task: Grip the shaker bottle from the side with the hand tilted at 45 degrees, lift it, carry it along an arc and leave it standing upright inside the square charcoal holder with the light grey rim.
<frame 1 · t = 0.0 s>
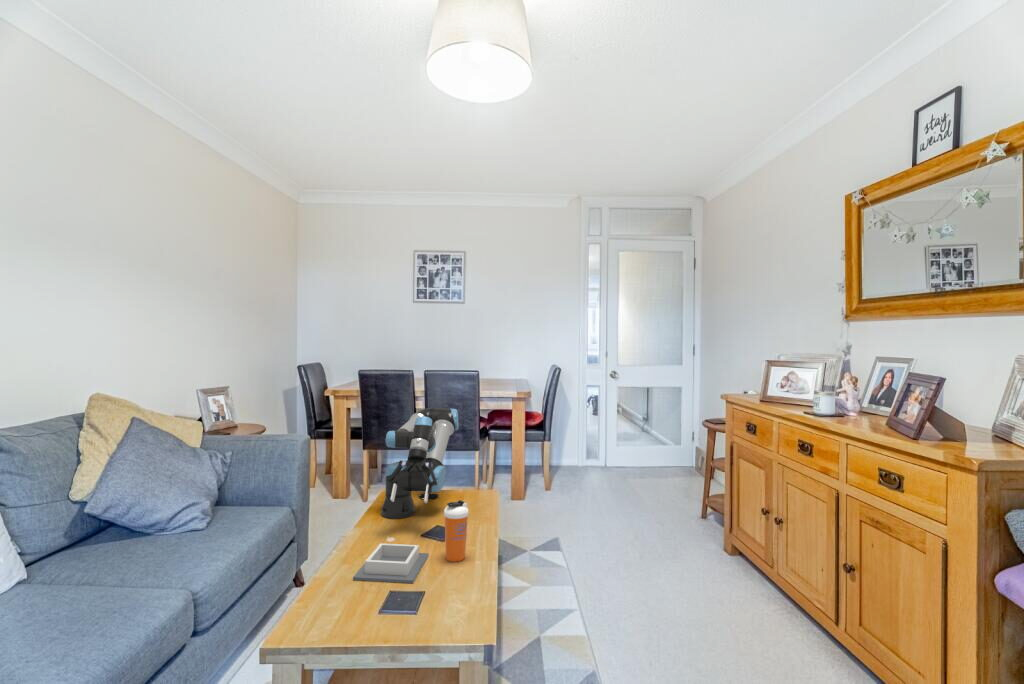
hand: (408, 501, 183), 15 cm above the table, tool tilted 35°, fingers open, 13 cm apart
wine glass: (428, 497, 237), on the table
holder: (392, 567, 160), on the table
shaker bottle: (455, 558, 169), on the table
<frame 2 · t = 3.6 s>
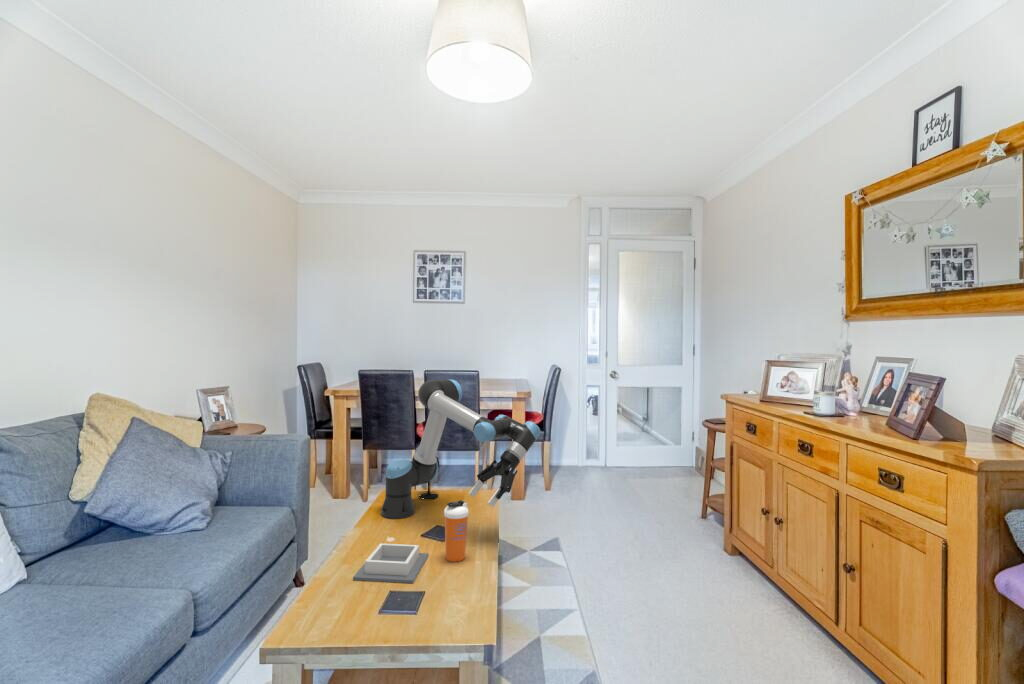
hand: (480, 500, 175), 19 cm above the table, tool tilted 45°, fingers open, 13 cm apart
nothing on the table moved.
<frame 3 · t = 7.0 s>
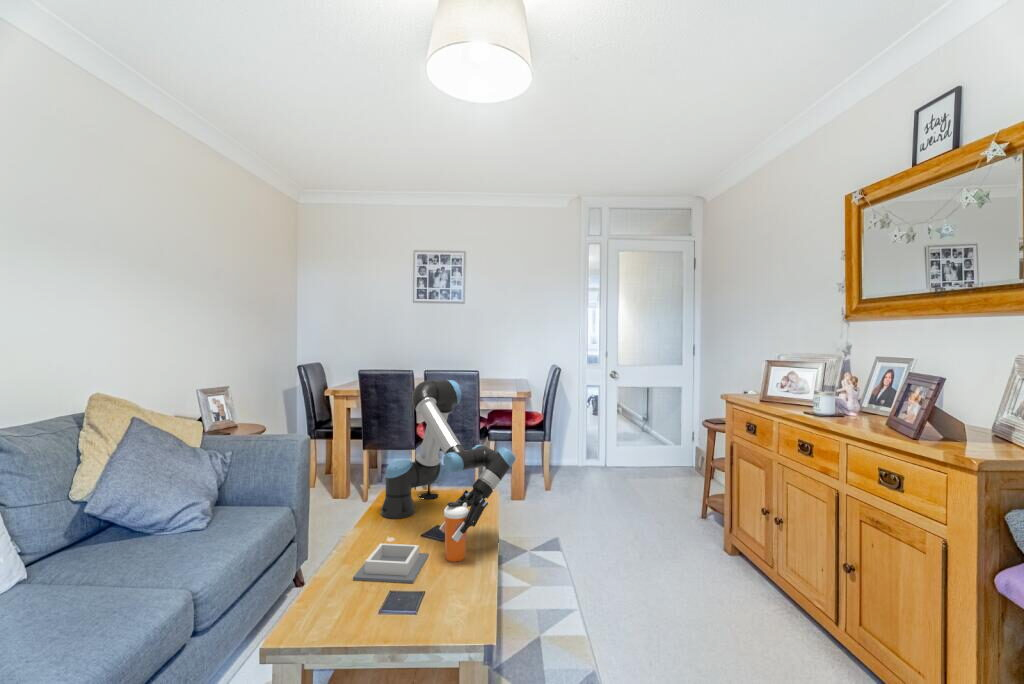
hand: (448, 535, 167), 9 cm above the table, tool tilted 45°, fingers closed on shaker bottle, 9 cm apart
shaker bottle: (455, 558, 169), on the table, touching gripper
everything else where it was.
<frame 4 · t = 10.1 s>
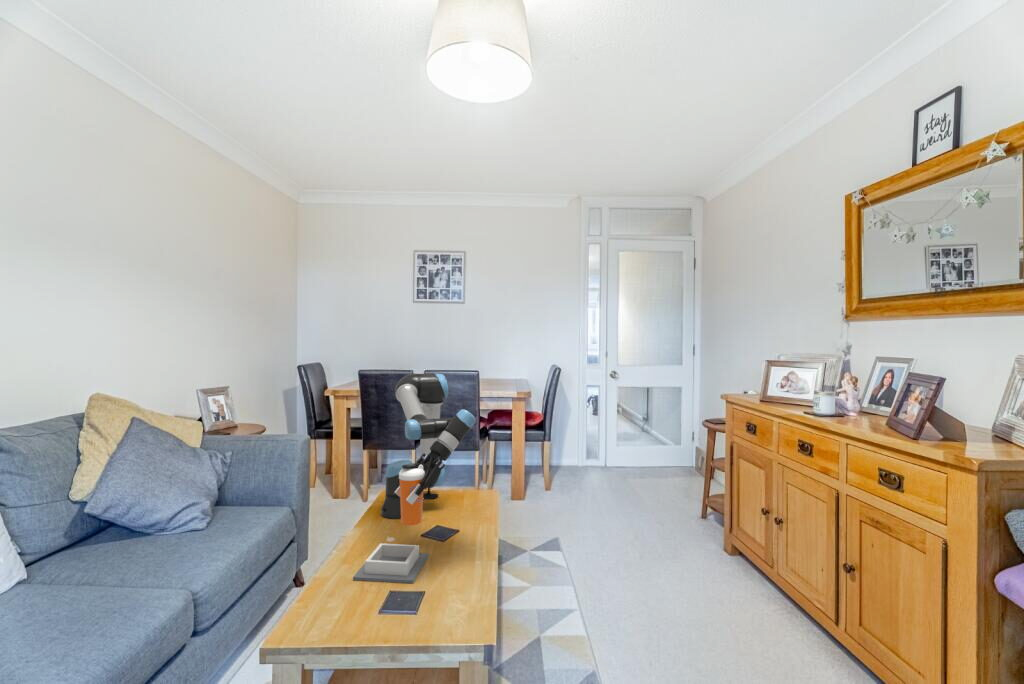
hand: (403, 498, 160), 24 cm above the table, tool tilted 45°, fingers closed on shaker bottle, 9 cm apart
shaker bottle: (411, 522, 161), point 15 cm above the table, touching gripper
everything else where it was.
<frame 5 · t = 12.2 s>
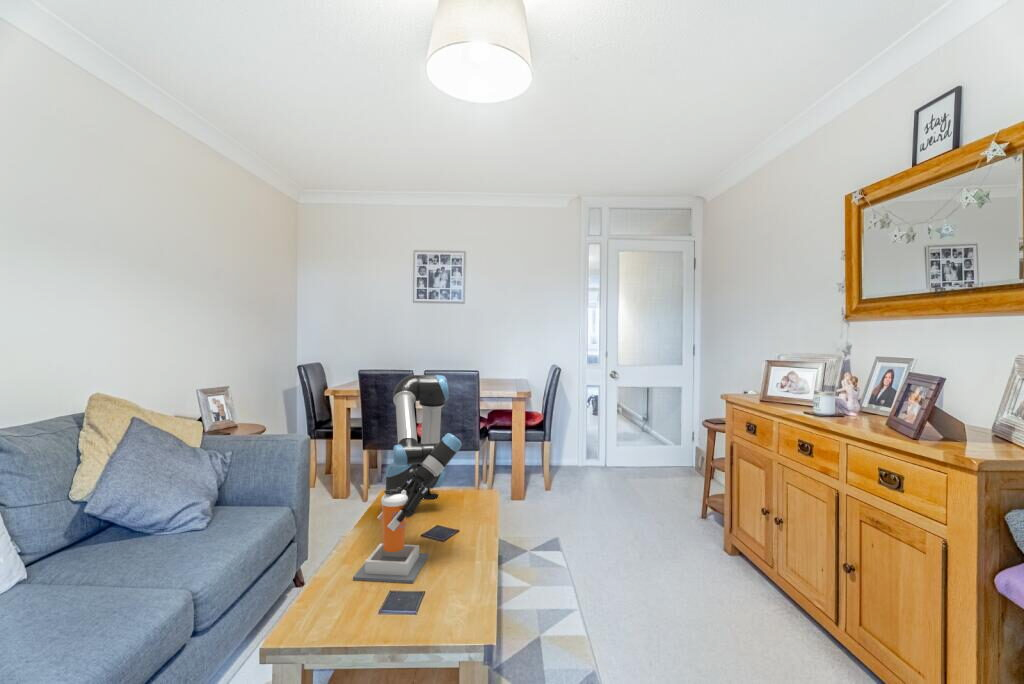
hand: (385, 524, 158), 16 cm above the table, tool tilted 45°, fingers closed on shaker bottle, 9 cm apart
shaker bottle: (393, 548, 160), point 7 cm above the table, touching gripper
everything else where it was.
when the fingers open (11 cm above the table, at t = 13.6 s): shaker bottle drops 1 cm, resting on holder.
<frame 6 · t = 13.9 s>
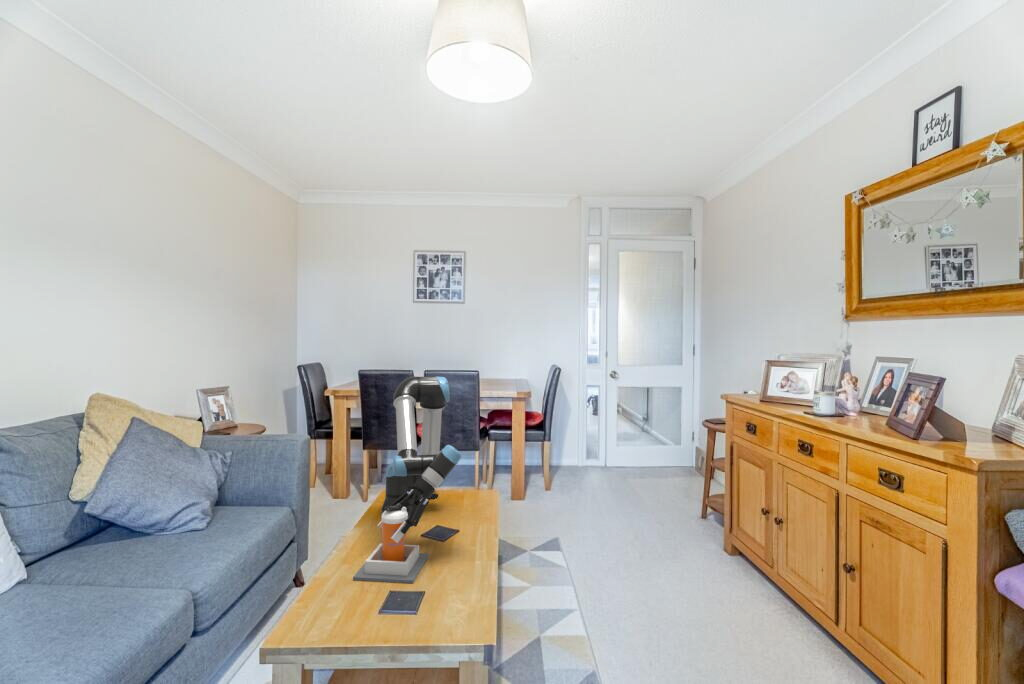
hand: (386, 534, 159), 12 cm above the table, tool tilted 45°, fingers open, 12 cm apart
shaker bottle: (393, 564, 160), point 1 cm above the table, touching holder
everything else where it was.
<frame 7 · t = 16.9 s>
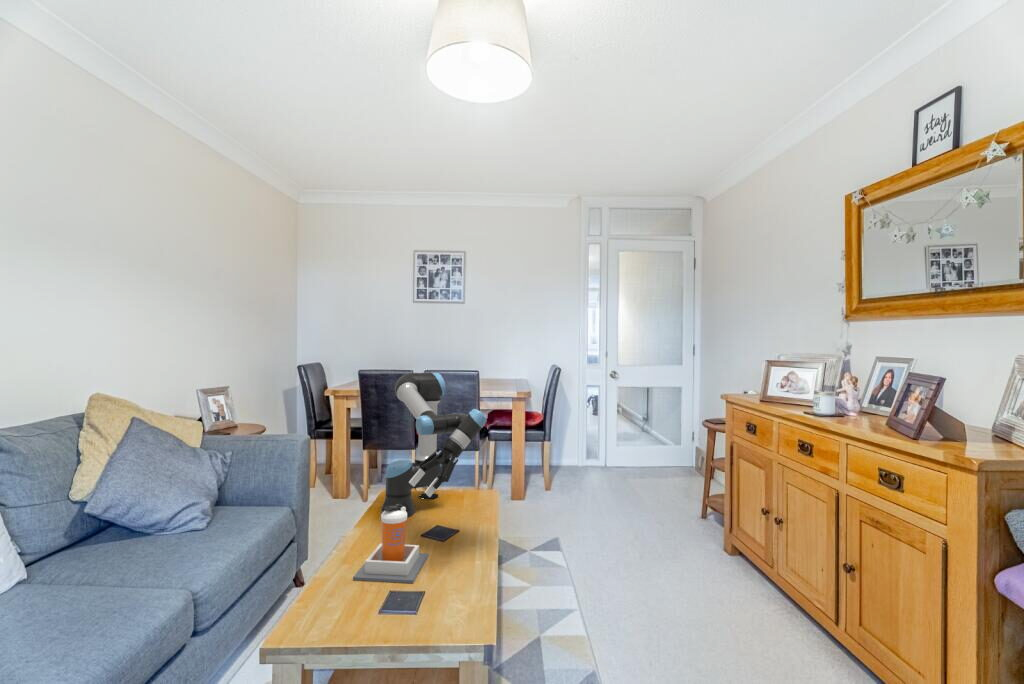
hand: (418, 489, 168), 25 cm above the table, tool tilted 45°, fingers open, 13 cm apart
nothing on the table moved.
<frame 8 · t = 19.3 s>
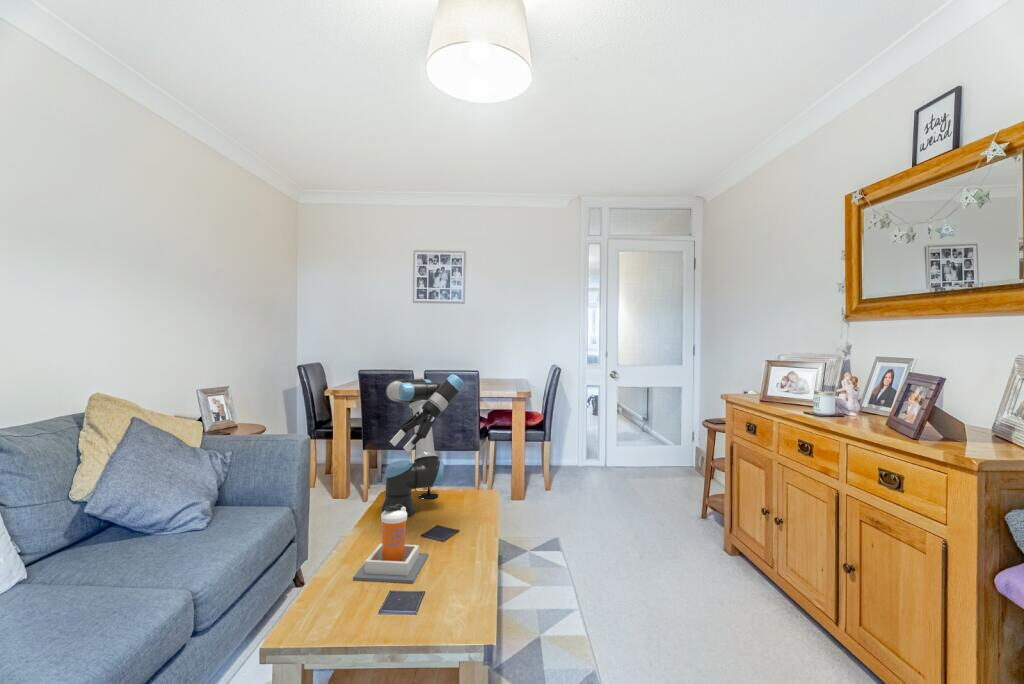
hand: (398, 447, 180), 38 cm above the table, tool tilted 45°, fingers open, 13 cm apart
nothing on the table moved.
at the end: shaker bottle 0.2 cm off-centre on the holder, point 0.8 cm above the holder's base; shaker bottle tilted 0°; the gripper is holding nothing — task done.
